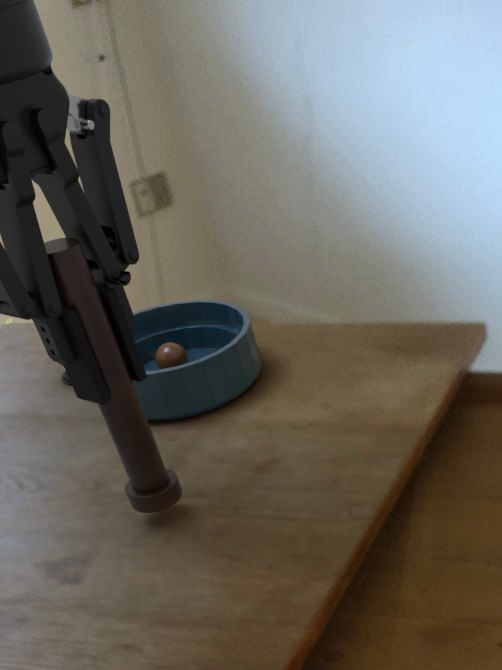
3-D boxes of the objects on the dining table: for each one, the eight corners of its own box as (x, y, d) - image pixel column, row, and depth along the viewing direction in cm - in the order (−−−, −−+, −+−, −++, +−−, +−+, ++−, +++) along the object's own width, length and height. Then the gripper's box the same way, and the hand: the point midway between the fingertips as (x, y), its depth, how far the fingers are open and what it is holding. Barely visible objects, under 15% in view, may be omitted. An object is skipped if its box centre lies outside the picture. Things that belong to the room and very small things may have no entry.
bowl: (82, 430, 87) (61, 380, 84) (131, 353, 98) (114, 306, 95) (245, 418, 86) (229, 367, 82) (276, 341, 97) (263, 293, 93)
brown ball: (155, 353, 93) (155, 379, 92) (155, 334, 90) (155, 361, 89) (187, 356, 94) (187, 382, 93) (188, 337, 91) (188, 363, 90)
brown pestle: (124, 515, 73) (15, 260, 60) (139, 485, 76) (38, 236, 63) (175, 511, 73) (76, 254, 59) (188, 482, 76) (97, 230, 62)
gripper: (-136, 31, 46) (60, 454, 62) (112, -36, 55) (226, 347, 71) (-218, 29, 49) (-12, 431, 65) (29, -33, 58) (156, 331, 74)
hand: (112, 386), depth 68 cm, fingers closed on brown pestle, 3 cm apart
